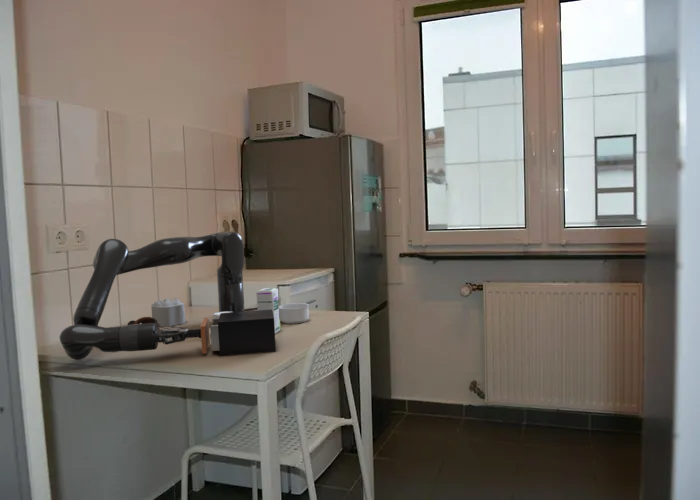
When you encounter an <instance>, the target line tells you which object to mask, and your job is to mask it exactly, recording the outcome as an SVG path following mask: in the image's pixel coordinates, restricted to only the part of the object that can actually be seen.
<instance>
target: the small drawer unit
mask: <svg viewBox="0 0 700 500" xmlns="http://www.w3.org/2000/svg"><path fill="white" fill-rule="evenodd" d="M218 333H219V350H218V351H219V357H225V356H227V357H228V356H237V355H238V356H239V355H250V354H260V353H274V352H276V351H277V348H276V334H275V327H274V316H273V311H272V310H258V309H257V310H250V311H244V312H230V313H220V317H219V320H218Z"/></svg>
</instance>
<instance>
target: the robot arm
mask: <svg viewBox="0 0 700 500" xmlns="http://www.w3.org/2000/svg"><path fill="white" fill-rule="evenodd" d="M204 257H221V264H220V265H219V267H217V268H216V282H217V298H218V312H224V311H230V312H244V311H258V309H257V307H256V306H255V307H249V308H245V294H244V293H245V292H244V277H243V276H244V274H243V269H244V266H245V244H244V239H243V237H242V236H241V234H240V233H238V232H236V231H219V232H216V233H212V234H207V235H202V236H173V237H166V238H161V239H158V240H155V241H153V242H151V243H148V244H146V245H144V246H142V247H140V248H139V247H138V248H137V249H133V250H129V247H128V246H127V244H126V243H125V241H122V240H121V239H117V238H108V239H106V240H104V241H101V243H100V244H99V246H98V247H97V250H96V252H95V255H94V256H93V261H92V268H93V269H94V270H93V271H92V275H91V277H90V279H89V282H88V283H87V285H86V287H85V288H84V291H83V293H82V295H81V297H80V298H79V302H78V303H77V306H76V308H75V311H74V313H73V317H72V319H73V324H72V325H69V326H67V327H65V328H64V329H63V330H61V332H60V335H59V342H60V344H61V346H62V348H63V349H64V352H65V353H66V355H67V356H68V357H69V358H70V359H72V360H75V361H81V360H84V359H86V358H87V357H88V356H90V354H91V353H92V351H93V350H94V348H97V349H98V350H99V351H101V352H102V353H117V352H118V353H120V352H142V351H143V352H145V351H155V350H157V348H158V346H159V343H162V344H163V345H171V344H175V343H179V342H184V341H186V340H188V339H192V338H194V339H195V338H199V337H201V328H188V327H187V326H186V327H185V326H177V325H173V326H168V327H163V328H162V329H160V330H158V329H157V325H156V324H155V323H147V324H142V323H140V324H133V325H128V324H126V325H121V326H120V325H119V326H109V327H108V326H107V327H105V326H100V325H99V323H100V321H101V318H102V315H103V313H104V310H105V307H106V304H107V302H108V298H109V295H110V292H111V290H112V287H113V284H114V282H115V278H116V277H117V276H119V275H124V274H126V273H130V272H135V271H139V270H145V269H151V268H152V269H153V268H158V267H165V266H174V265H179V264H185V263H189V262H191V261H193V260H195V259H199V258H204Z"/></svg>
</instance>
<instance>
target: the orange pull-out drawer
mask: <svg viewBox="0 0 700 500" xmlns="http://www.w3.org/2000/svg"><path fill="white" fill-rule="evenodd" d="M218 320H219V318H213V317H212V324H211V325H209V323H210V322H209V317H203V320H202V322H201V324H200V329H201V337H198V338H199V339H200V343H201V354H202V355H203V354H207V352H208V349H209V346H211V352H216V351H217V352H218V351H220V350H219V333H218ZM210 344H211V345H210Z"/></svg>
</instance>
